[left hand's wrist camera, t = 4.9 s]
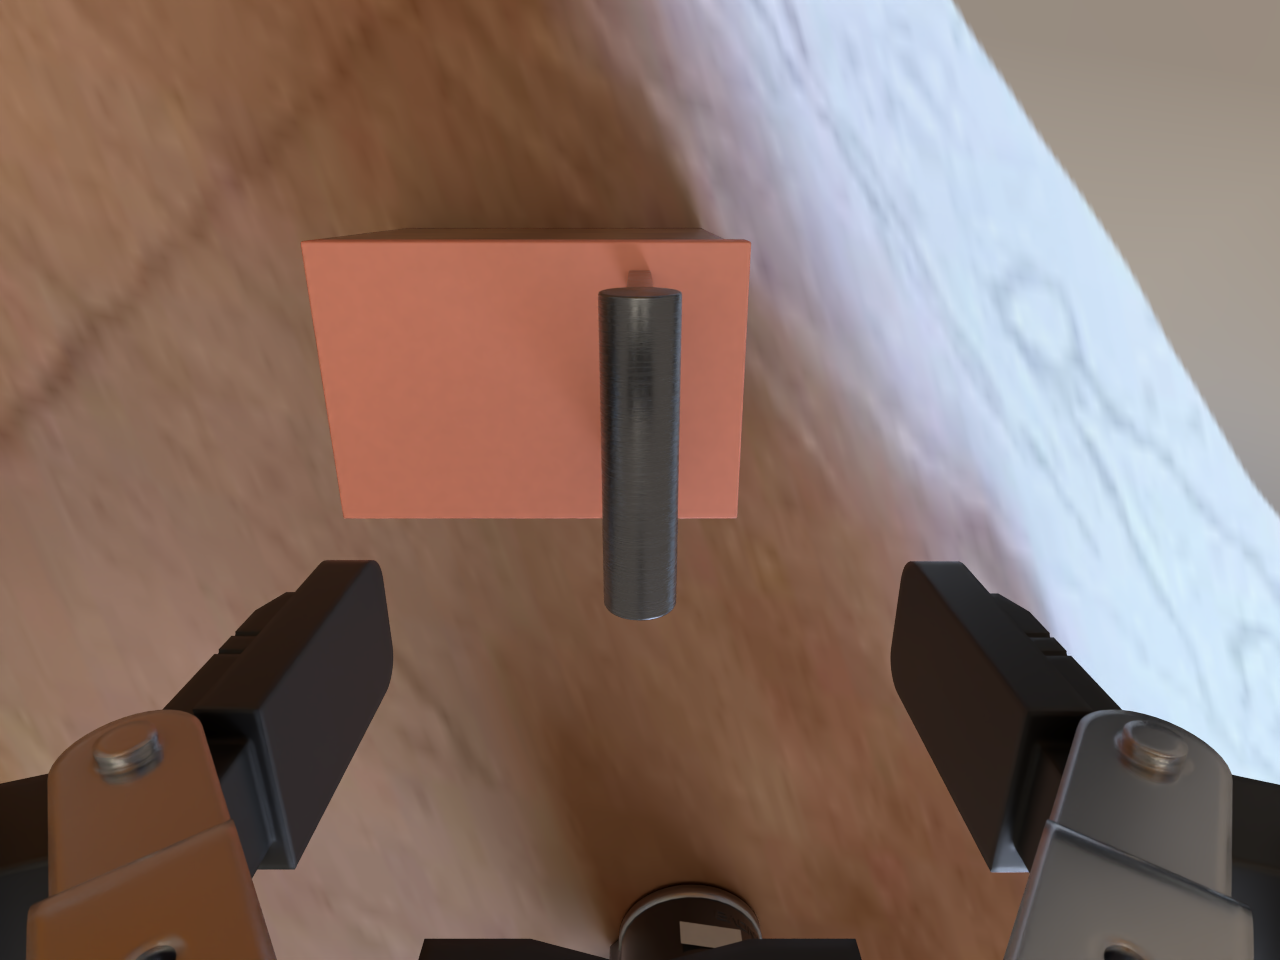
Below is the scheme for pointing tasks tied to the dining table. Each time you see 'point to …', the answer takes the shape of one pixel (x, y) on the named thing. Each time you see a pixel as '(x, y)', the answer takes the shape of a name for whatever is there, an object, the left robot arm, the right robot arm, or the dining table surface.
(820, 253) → the dining table surface
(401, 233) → the chest
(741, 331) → the lid
